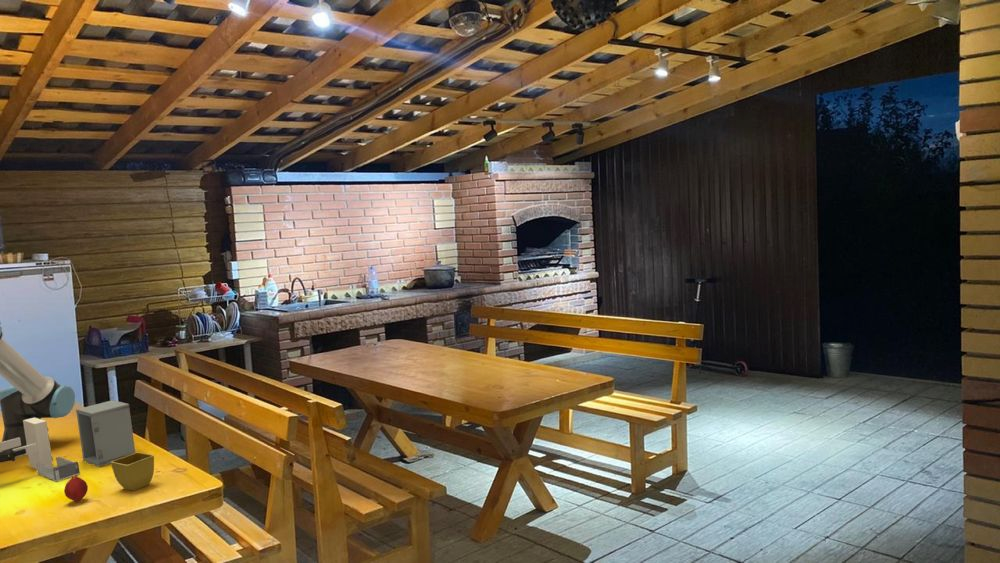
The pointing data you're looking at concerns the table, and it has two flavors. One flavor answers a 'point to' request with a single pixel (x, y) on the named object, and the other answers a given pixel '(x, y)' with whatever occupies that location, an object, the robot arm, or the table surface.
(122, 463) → the flower pot
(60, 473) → the drawer
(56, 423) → the table surface
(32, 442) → the door
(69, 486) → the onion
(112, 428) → the cabinet
